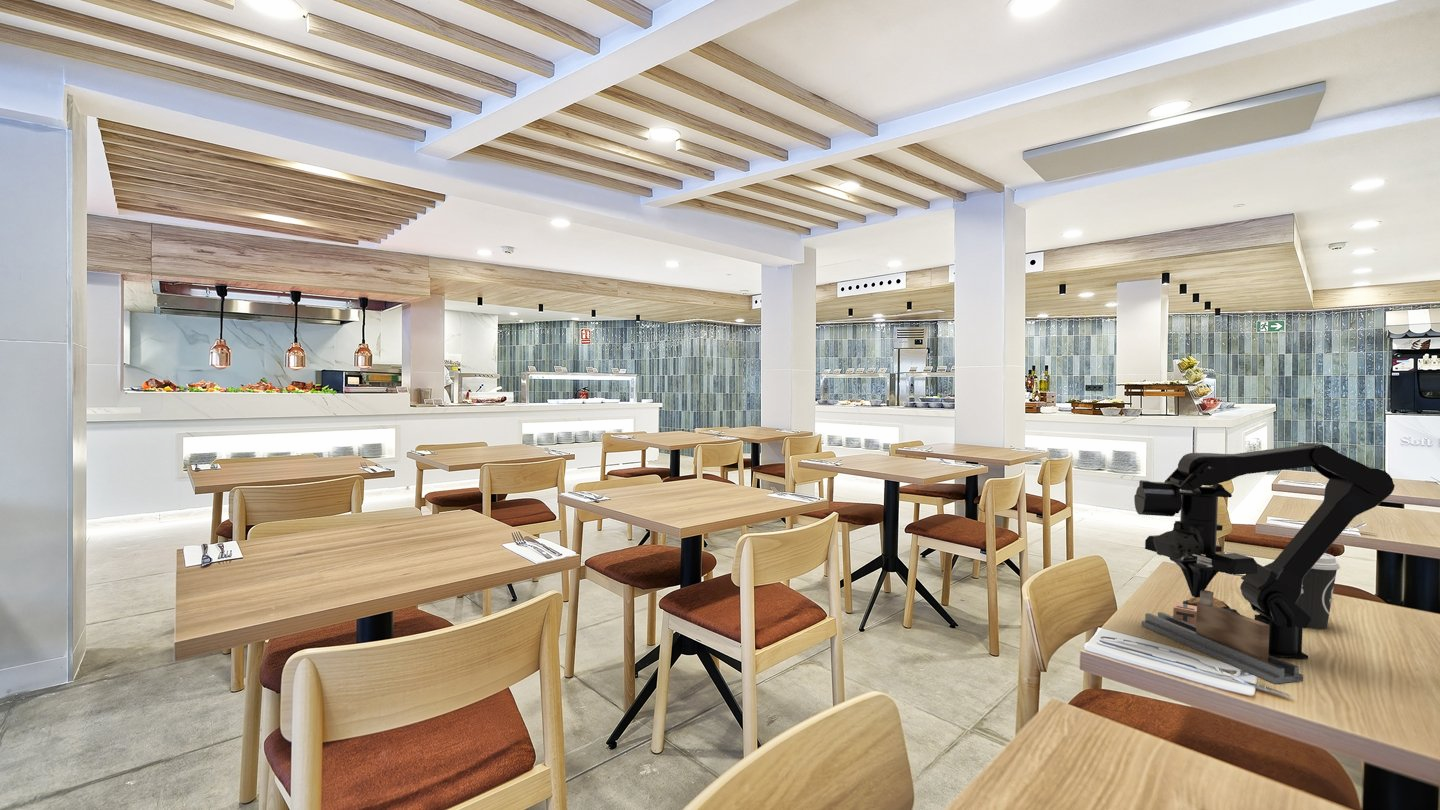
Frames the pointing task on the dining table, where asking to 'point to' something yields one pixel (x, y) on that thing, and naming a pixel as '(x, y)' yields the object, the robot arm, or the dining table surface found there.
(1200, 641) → the track
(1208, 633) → the screen
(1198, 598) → the bread roll
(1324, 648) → the dining table surface
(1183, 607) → the lettered cube
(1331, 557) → the coffee cup
